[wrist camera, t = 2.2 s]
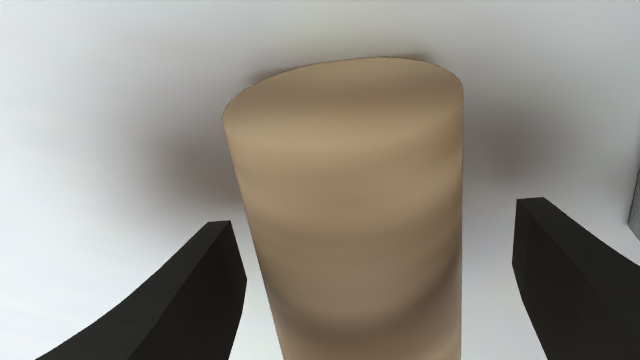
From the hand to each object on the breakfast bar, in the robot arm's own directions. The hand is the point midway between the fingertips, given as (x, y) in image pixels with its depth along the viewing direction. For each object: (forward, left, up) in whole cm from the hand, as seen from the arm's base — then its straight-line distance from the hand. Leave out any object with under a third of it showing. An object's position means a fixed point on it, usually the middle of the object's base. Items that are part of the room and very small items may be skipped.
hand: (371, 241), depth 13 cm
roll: (0, 0, -3) cm, 3 cm away
